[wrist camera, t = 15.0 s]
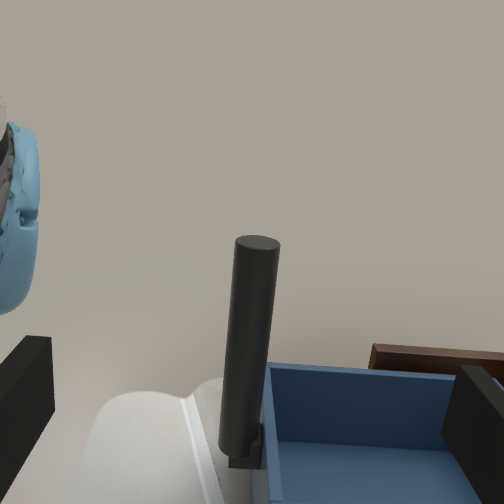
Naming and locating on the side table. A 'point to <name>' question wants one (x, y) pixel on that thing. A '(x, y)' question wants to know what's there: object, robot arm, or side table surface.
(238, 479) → the side table surface
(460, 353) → the walnut drawer box
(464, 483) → the blue drawer insert
